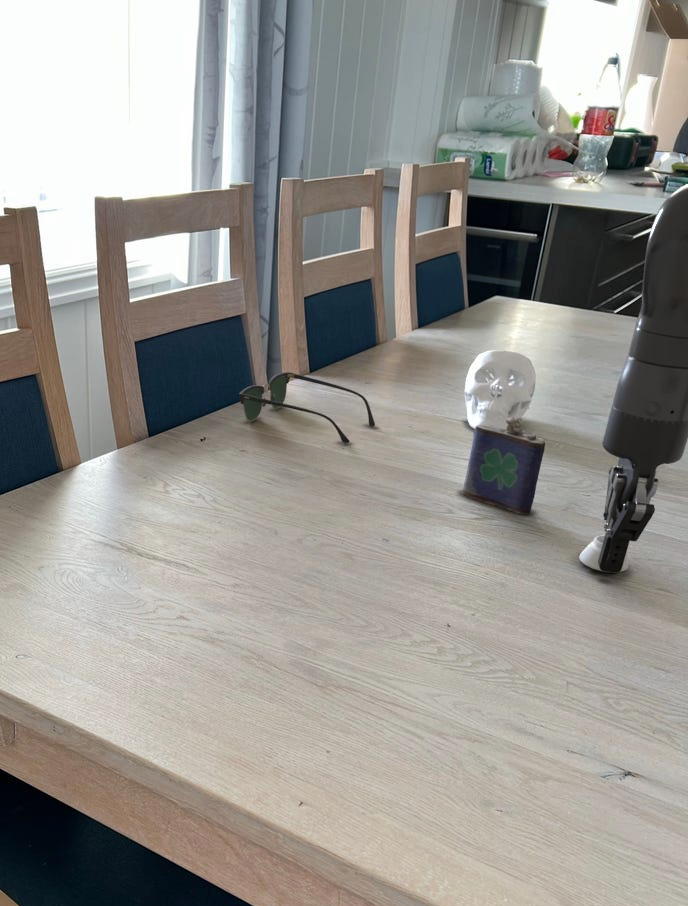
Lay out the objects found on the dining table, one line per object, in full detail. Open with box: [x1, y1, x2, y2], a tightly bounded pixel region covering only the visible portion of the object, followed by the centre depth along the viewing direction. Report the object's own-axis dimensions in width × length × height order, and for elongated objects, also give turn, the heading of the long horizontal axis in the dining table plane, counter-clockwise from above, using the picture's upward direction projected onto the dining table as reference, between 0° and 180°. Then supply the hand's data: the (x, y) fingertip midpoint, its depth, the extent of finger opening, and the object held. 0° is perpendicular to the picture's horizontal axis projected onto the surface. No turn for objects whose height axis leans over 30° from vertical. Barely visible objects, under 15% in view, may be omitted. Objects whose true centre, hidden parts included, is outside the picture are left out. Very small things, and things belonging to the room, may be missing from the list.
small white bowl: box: [578, 534, 630, 574], centre depth 106 cm, size 5×3×5 cm
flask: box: [462, 417, 546, 515], centre depth 119 cm, size 9×3×11 cm, turn 46°
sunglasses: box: [238, 371, 376, 444], centre depth 145 cm, size 16×17×5 cm
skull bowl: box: [464, 349, 537, 430], centre depth 151 cm, size 10×14×12 cm
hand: (608, 568), depth 103 cm, fingers closed
